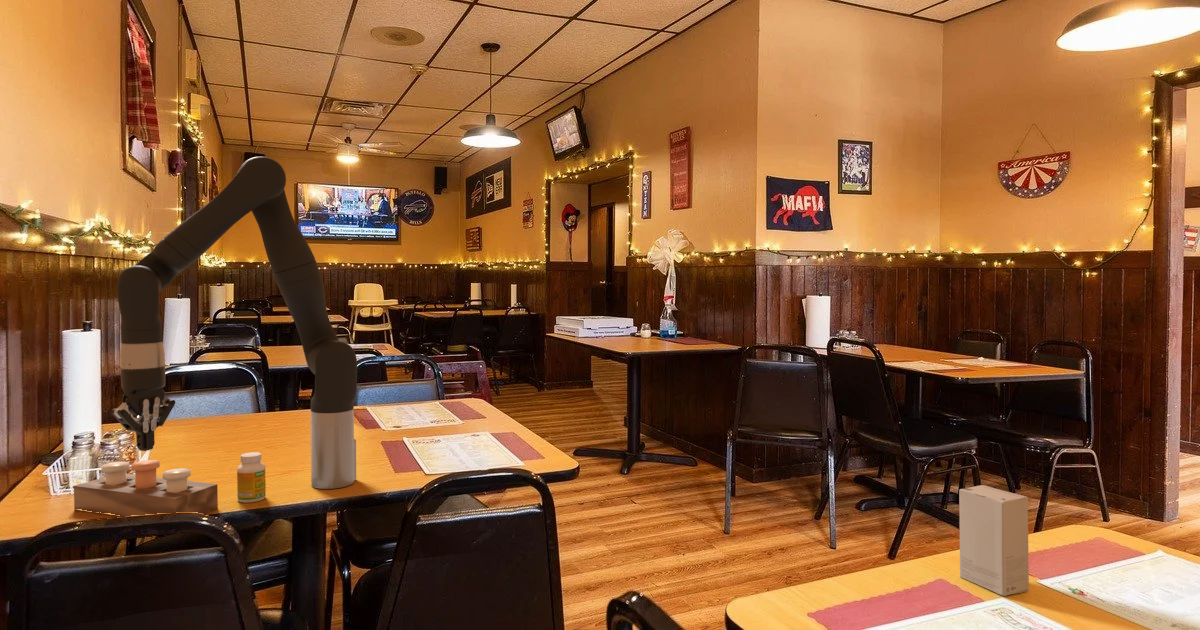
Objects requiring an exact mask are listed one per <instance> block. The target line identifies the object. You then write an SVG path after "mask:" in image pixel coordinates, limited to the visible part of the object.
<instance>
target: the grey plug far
mask: <svg viewBox="0 0 1200 630" xmlns="http://www.w3.org/2000/svg"><path fill="white" fill-rule="evenodd" d="M130 469H131V464H130V462H129V461H114V462H110V463H109V462H108V463H104V464H103V465H101V473H104V474H105V475H104V477H105V484H107V485H117V484H121V483H124V482H127V474H128V473H127V470H130Z"/></svg>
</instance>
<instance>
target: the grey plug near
mask: <svg viewBox="0 0 1200 630" xmlns="http://www.w3.org/2000/svg"><path fill="white" fill-rule="evenodd" d="M191 471H192V470H191V469H190V468H185V467H184V468H183V467H181V468H174V469H168V470H165V471H162V478H163V479H165V480H166V488H167V492H172V493H178V492H181V491H184V490H187V489H188V486H187V481H188V478H189V477H191V475H192V472H191Z"/></svg>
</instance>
